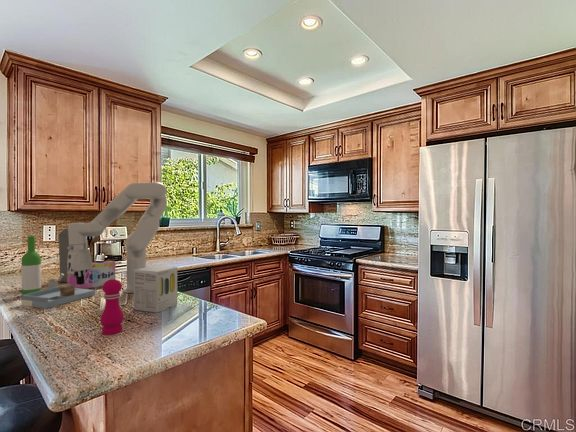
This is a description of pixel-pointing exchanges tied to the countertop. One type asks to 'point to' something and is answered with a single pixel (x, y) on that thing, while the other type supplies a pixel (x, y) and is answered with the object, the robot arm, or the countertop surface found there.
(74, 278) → the gum box
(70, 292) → the block
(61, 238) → the canister
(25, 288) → the wine bottle
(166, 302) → the supplement box
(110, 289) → the pepper mill
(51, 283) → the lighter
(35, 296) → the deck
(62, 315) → the countertop surface
